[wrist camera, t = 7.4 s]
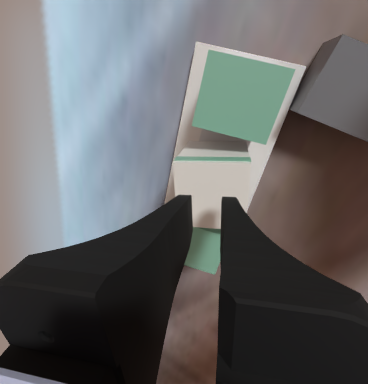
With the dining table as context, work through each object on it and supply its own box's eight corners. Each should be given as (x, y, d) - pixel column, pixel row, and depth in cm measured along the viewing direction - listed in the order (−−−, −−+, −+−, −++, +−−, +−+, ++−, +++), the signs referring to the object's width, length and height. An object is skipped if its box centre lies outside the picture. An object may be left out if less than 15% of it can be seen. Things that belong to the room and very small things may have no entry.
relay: (412, 80, 14) (455, 79, 11) (365, 140, 16) (392, 152, 13) (321, 43, 14) (342, 34, 11) (286, 107, 16) (297, 112, 13)
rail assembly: (302, 67, 14) (335, 58, 10) (231, 243, 21) (231, 287, 17) (198, 43, 15) (182, 24, 10) (162, 222, 22) (143, 259, 17)
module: (242, 193, 17) (245, 231, 13) (190, 191, 18) (176, 226, 13) (246, 140, 15) (251, 163, 11) (188, 141, 16) (172, 161, 12)
